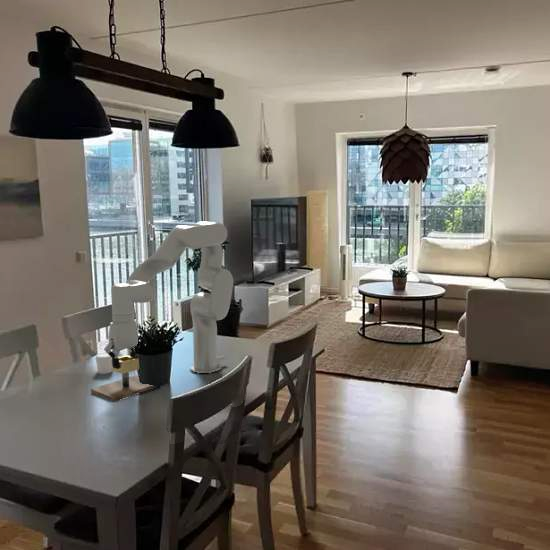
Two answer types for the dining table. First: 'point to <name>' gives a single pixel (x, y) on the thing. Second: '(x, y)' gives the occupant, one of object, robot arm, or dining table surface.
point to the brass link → (126, 364)
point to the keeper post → (125, 379)
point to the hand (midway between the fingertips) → (125, 365)
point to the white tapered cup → (103, 363)
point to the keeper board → (120, 389)
